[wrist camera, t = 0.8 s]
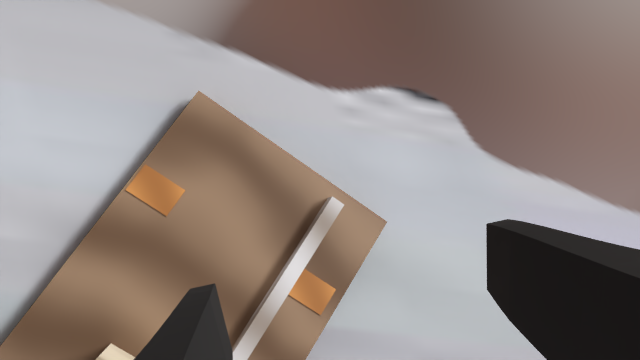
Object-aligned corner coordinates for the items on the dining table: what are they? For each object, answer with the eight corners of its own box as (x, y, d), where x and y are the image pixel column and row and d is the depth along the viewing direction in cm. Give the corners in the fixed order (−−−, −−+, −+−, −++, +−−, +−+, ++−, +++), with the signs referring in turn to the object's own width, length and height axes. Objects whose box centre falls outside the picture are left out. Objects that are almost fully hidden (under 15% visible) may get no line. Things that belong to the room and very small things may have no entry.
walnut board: (207, 509, 26) (206, 540, 24) (-22, 384, 24) (-51, 403, 22) (379, 222, 31) (393, 221, 29) (199, 97, 29) (197, 84, 27)
